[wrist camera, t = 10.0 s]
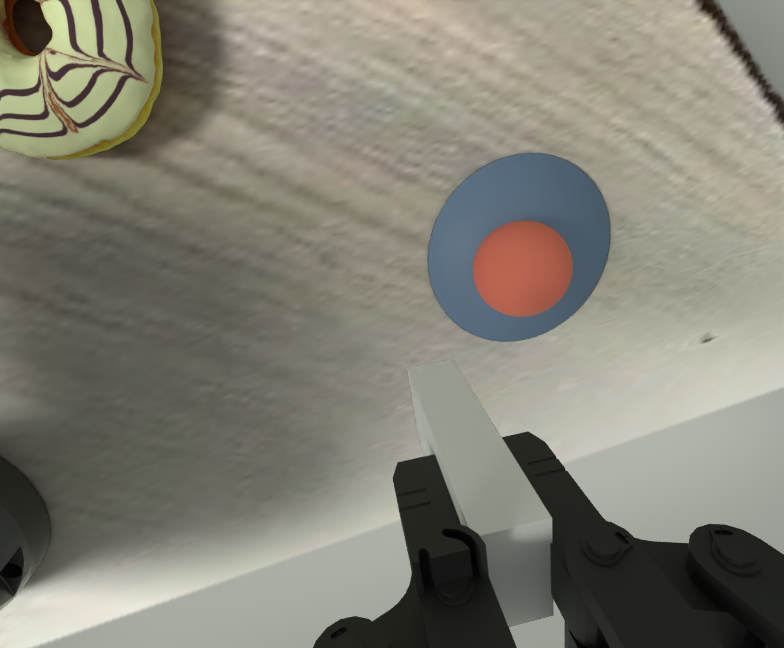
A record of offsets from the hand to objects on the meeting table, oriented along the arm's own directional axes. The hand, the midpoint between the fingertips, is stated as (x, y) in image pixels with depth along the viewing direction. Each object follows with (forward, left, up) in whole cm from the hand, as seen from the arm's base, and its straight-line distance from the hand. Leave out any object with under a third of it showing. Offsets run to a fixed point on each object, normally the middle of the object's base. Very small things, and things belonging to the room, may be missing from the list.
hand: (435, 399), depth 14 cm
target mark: (+9, -2, -14) cm, 17 cm away
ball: (+8, -2, -11) cm, 14 cm away
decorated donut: (-9, +18, -14) cm, 25 cm away
